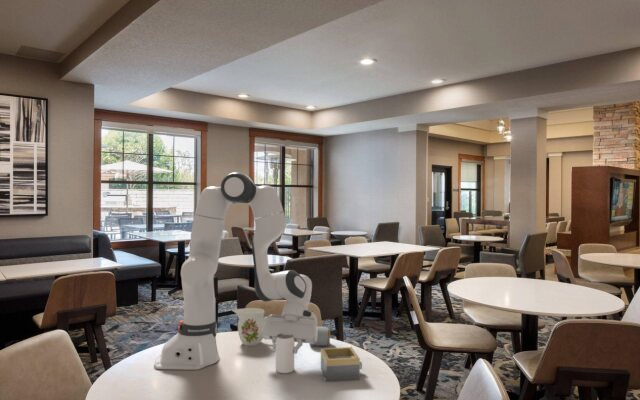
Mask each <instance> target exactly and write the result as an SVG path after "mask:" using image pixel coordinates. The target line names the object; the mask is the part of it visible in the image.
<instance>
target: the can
mask: <svg viewBox="0 0 640 400" xmlns="http://www.w3.org/2000/svg"><path fill="white" fill-rule="evenodd" d="M282 334H283V333H282ZM282 334H278V335H277V339H276V342H275V344H276V351H275V371H276V373H279V374H282V375H284V374H286V375H287V374H291V373H293V372H294V371H295V353H293V348H294V347H295V342H294V338H293V335H292V336H291V335H282Z"/></svg>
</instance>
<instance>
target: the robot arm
mask: <svg viewBox="0 0 640 400" xmlns="http://www.w3.org/2000/svg"><path fill="white" fill-rule="evenodd" d="M231 204H248V206H250V208H251V211H252V212H251V213H252V215H253V220H254V223H255V224H254V226H255V227H254V228H255V229H254V234H252V237H251V249H252V250H251V251H252V260H253V261H252V262H253V271H254V291H255V295H256V296H257V297H258V298H259V299H260V300H261V301H263V302H266V303H268V302H270V301H274V300H279V299H284V300H285V303H284V305H283V309H282V313H281V314H274V313H271V314H269V315H267V316H265V317H266V319H265V323H264V325H263V328H262V330H261V334H262V336H263V339H264V340H271V342H272V349H271V350H272V352H276V339H277V335H278V334H282V333H283V334H282V335H291V336H292V335H293V338H294V343H296V345H294V348H293V353H294V355H297V354H298V351H299V349H301V348H302V346H303V344H309V343H311V344H314V343H315V342H316V341H317V336H318V328H317V326H318V318H317V315H316V314H315V312H313V311H310V310H308V307H309V303H310V301H311V298H312V297H311V296H312V290H313V282H312V280H311V278H309V276H308V275H305V274H301V273H299V272H297V271H296V270H294V269H289V270H283V271H282V270H281V271H279V272H274V273H273V272H272V273H271V272H270V267H269V266H270V265H269V257H268V251H269V250H268V249H269V247H270V246H271V244H272V243H273V242H275V241H276V240H278V239H279V238H280V237H281V236H282V234H284V232H285V229H286V226H287V221H286V216H285V213H284V212H285V211H284V208H283V205H282V202H281V200H280V197H279V194H278V193H277V190H276V188H274V187H273V186H271V185H266V184H265V185H256V183H255V181H254V179H252V177H251V176H249V175H248V174H246V173H243V172H237V171H236V172H235V171H234V172H231V173H229V174H227V175H225V176H224V178H223V179H222V181H221V183H220V186H208V187H205V188H204V189H203V190H202V191H201V193H200V196H199V198H198V200H197V204H196V207H195V208H196V209H195V212H194V217H193V222H192V227H191V231H190V232H191V233H190V244H189V254H188V258H187V259H185V261H184V262H183V263H182V265H181V269H180V277H181V287H182V289H181V290H182V295H183V320H179V322H177V323H178V324H177V325H178V326H177V333H176V334H175V335H173V336H172V337H171V338H170V339H168V340H167V341H166V342H165V343H164V345H163V346H162V350H161V352H160V353H161V354H159V355H158V356H157V357H156V359H154V368H155V369H156V370H180V371H181V370H185V371H187V370H188V371H189V370H190V371H191V370H192V371H193V370H195V371H196V370H201V369H204V368H205V367H208V366H211V365H214V364H215V363H217V362H218V361H219V360H220V359H221V358H220V355H219V351H218V345H217V338H216V337H217V331H218V326H217V320H216V297H215V296H216V295H215V285H214V283H215V282H214V277H215V274H216V273H217V270H218V266H219V259H220V255H221V254H220V253H221V245H222V238H223V233H224V227H225V222H226V217H227V213H228V209H229V207H230V205H231Z"/></svg>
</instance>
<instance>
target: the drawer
mask: <svg viewBox="0 0 640 400" xmlns="http://www.w3.org/2000/svg"><path fill="white" fill-rule="evenodd" d="M362 368H363V364H362V361H360V357H359V355H358V353H357V352H356V351H355V349H354V348H353V347H352V346H350V347H349V346H347V347H346V346H345V347H330V348H329V347H327V348H325V347H324V348H321V349H320V371H321V372H322V375H323V376H324V379H325V381H326V382H328V383H329V382H343V381H355V380H356V381H359V380H360V370H362Z"/></svg>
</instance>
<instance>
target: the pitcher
mask: <svg viewBox="0 0 640 400" xmlns="http://www.w3.org/2000/svg"><path fill="white" fill-rule="evenodd" d="M231 311H232V312H234V313H235V314H236V316H237V318H238V322H237V331H238V336H239V337H238V338H240V339H239V340H240V341H241V343H242V344H243V345H244V346H247V347H253V346H258V345H260V343H261V341H262V340H263V339H264V338H263V336H262V334H261V330H262V328H263V325H264V323H265V319H266V317H267V316H264V315H265V310H264V309H262V308H258V307H244V308H234V309H231Z"/></svg>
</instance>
